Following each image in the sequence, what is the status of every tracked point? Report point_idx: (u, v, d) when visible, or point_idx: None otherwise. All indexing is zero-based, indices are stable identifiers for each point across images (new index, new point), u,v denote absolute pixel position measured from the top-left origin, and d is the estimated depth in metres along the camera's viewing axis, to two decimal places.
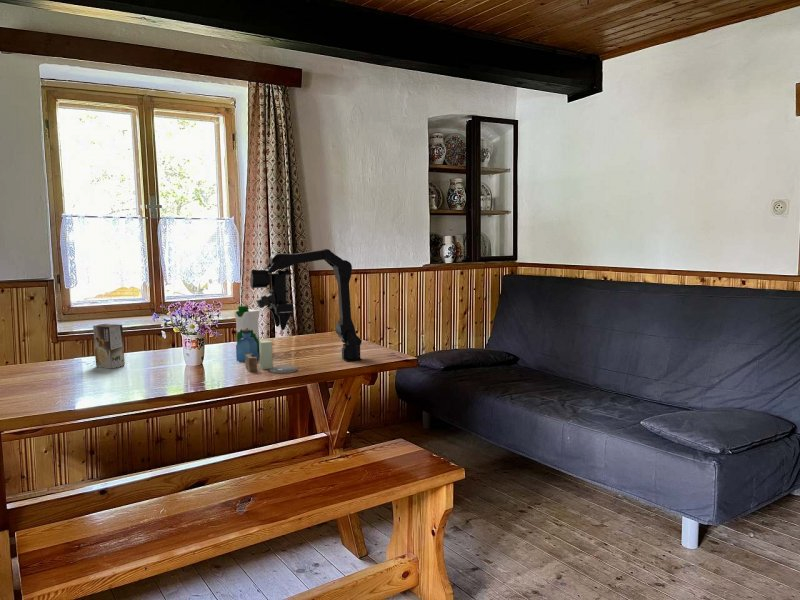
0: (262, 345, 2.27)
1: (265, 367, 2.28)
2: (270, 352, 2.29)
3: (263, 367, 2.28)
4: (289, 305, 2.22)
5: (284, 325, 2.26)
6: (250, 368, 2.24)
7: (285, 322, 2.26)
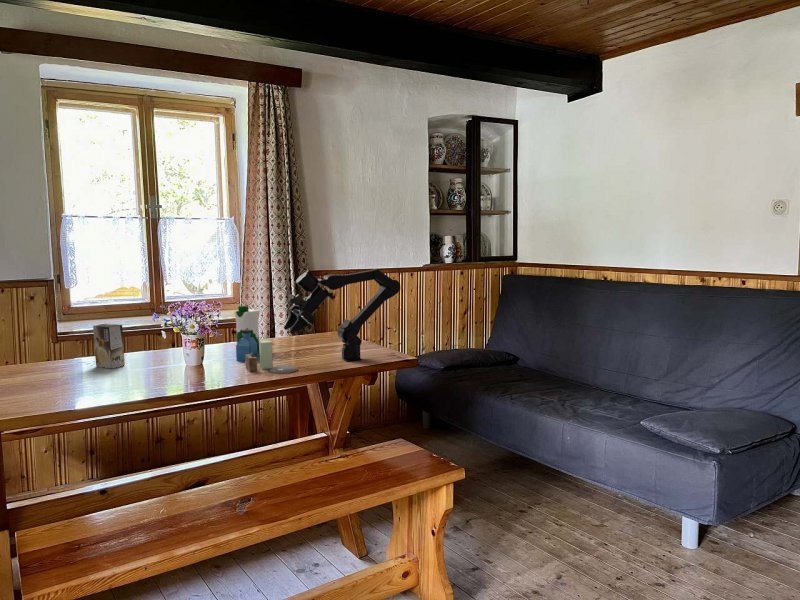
0: (262, 345, 2.27)
1: (265, 367, 2.28)
2: (270, 352, 2.29)
3: (263, 367, 2.28)
4: (313, 318, 2.27)
5: (294, 330, 2.28)
6: (250, 368, 2.24)
7: (297, 328, 2.28)
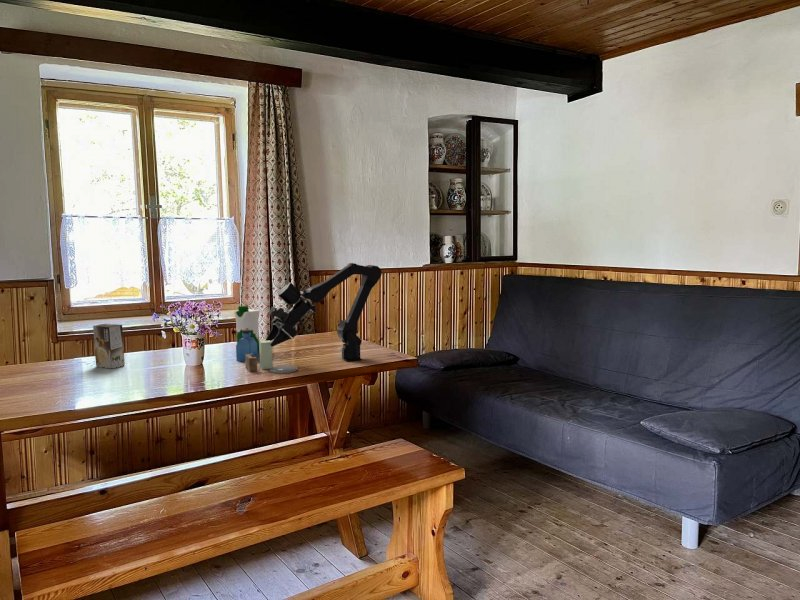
0: (262, 345, 2.27)
1: (265, 367, 2.28)
2: (270, 352, 2.29)
3: (263, 367, 2.28)
4: (295, 331, 2.24)
5: (275, 343, 2.26)
6: (250, 368, 2.24)
7: (278, 342, 2.26)
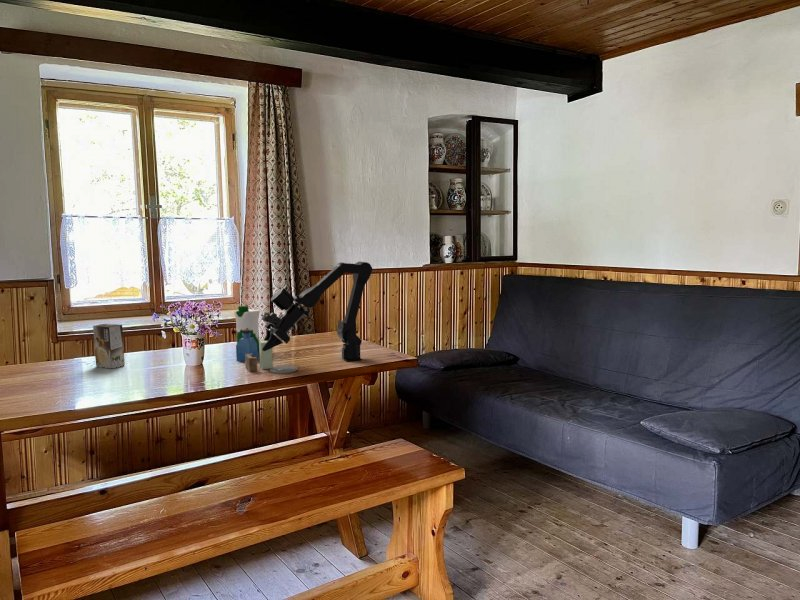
0: (262, 345, 2.27)
1: (265, 367, 2.28)
2: (270, 352, 2.29)
3: (263, 367, 2.28)
4: (288, 337, 2.23)
5: (267, 348, 2.27)
6: (250, 368, 2.24)
7: (270, 346, 2.27)
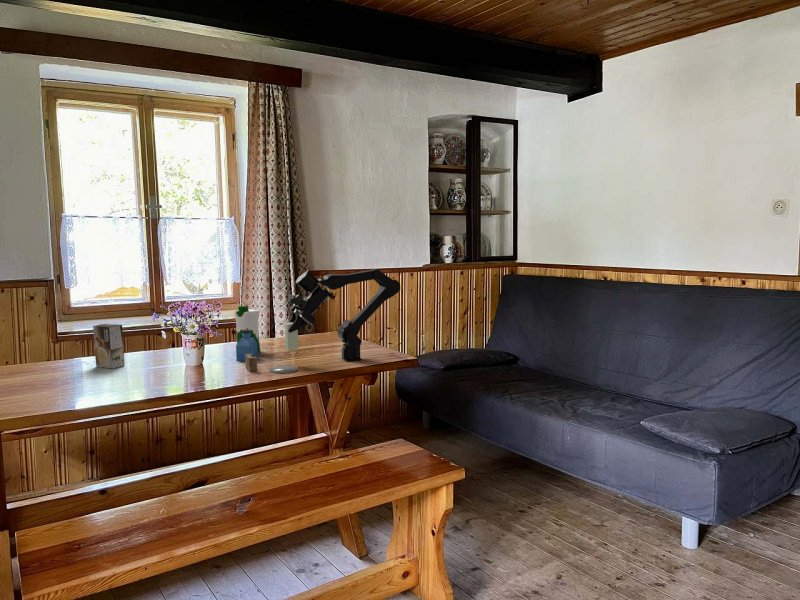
0: (288, 327, 2.30)
1: (291, 348, 2.32)
2: (296, 333, 2.32)
3: (289, 348, 2.31)
4: (314, 318, 2.27)
5: (293, 329, 2.30)
6: (250, 368, 2.24)
7: (296, 328, 2.30)
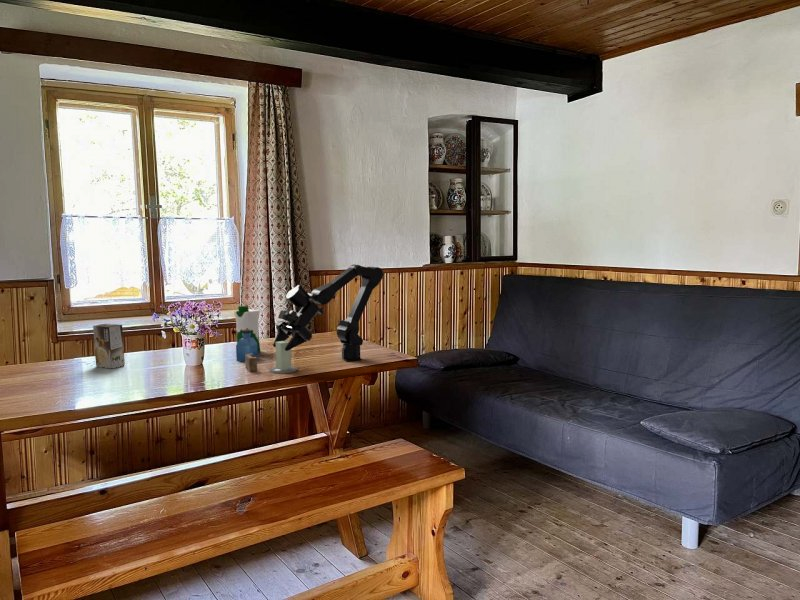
0: (281, 345, 2.23)
1: (284, 368, 2.24)
2: (289, 352, 2.25)
3: (282, 368, 2.24)
4: (310, 334, 2.22)
5: (290, 347, 2.21)
6: (250, 368, 2.24)
7: (293, 345, 2.21)
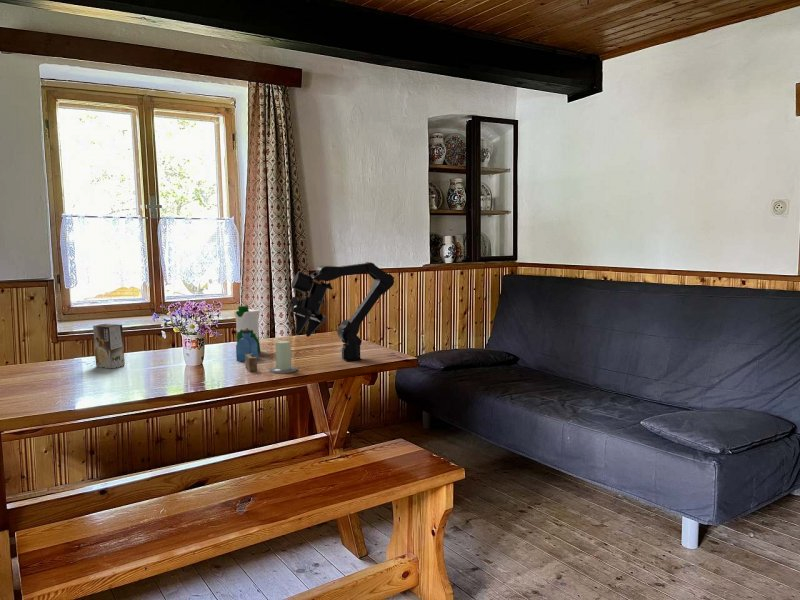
0: (281, 345, 2.23)
1: (284, 368, 2.24)
2: (289, 352, 2.25)
3: (282, 368, 2.24)
4: (304, 309, 2.26)
5: (299, 329, 2.29)
6: (250, 368, 2.24)
7: (300, 327, 2.29)
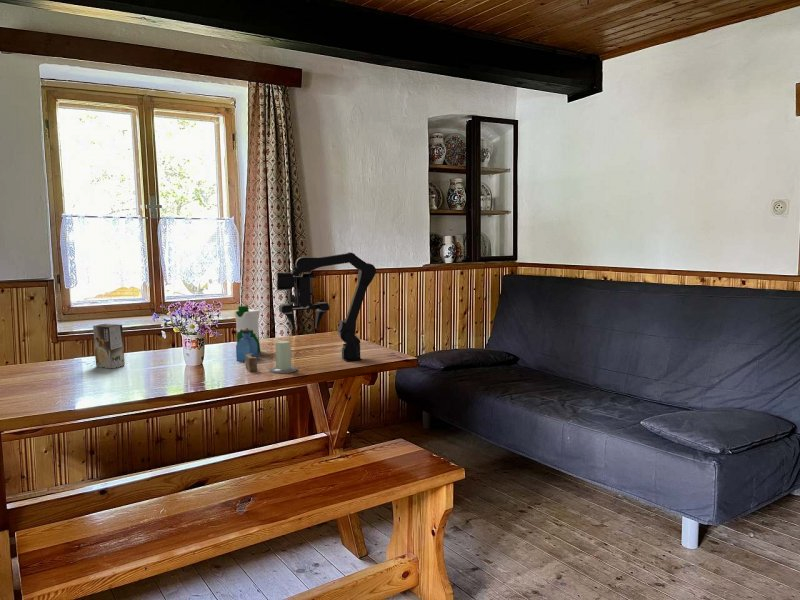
0: (281, 345, 2.23)
1: (284, 368, 2.24)
2: (289, 352, 2.25)
3: (282, 368, 2.24)
4: (281, 306, 2.32)
5: (291, 326, 2.35)
6: (250, 368, 2.24)
7: (290, 323, 2.35)
